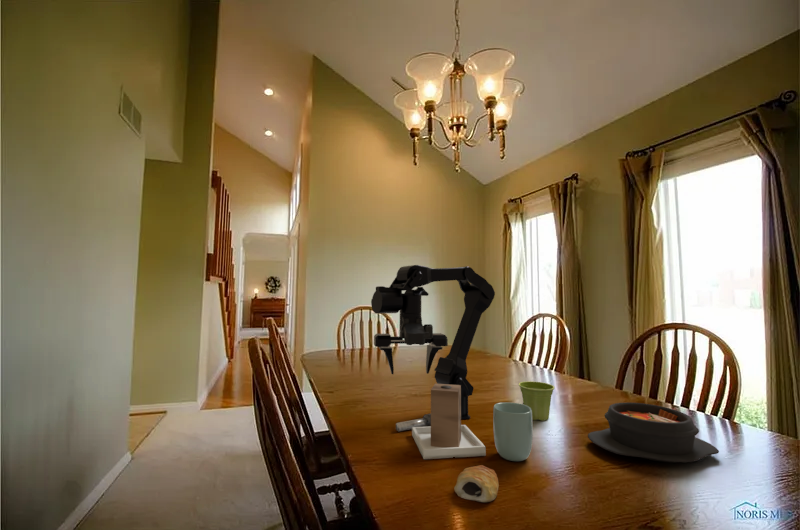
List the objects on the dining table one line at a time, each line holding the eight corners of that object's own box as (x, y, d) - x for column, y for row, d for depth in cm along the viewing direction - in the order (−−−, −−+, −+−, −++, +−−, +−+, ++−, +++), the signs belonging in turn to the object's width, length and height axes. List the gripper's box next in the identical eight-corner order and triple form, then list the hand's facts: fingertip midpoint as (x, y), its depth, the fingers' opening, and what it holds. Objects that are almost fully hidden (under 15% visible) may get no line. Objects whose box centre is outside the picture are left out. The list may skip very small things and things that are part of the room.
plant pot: (562, 419, 100) (561, 386, 101) (541, 425, 95) (540, 391, 95) (533, 410, 108) (532, 379, 108) (512, 415, 102) (511, 384, 103)
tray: (465, 432, 89) (465, 424, 90) (485, 455, 76) (485, 446, 77) (412, 435, 87) (412, 427, 88) (423, 459, 74) (423, 450, 75)
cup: (536, 467, 71) (534, 414, 72) (494, 463, 73) (494, 411, 74) (530, 451, 79) (529, 403, 80) (492, 447, 80) (492, 401, 81)
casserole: (671, 434, 89) (669, 399, 90) (748, 470, 71) (744, 425, 71) (571, 436, 88) (570, 400, 89) (622, 473, 69) (620, 427, 70)
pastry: (469, 473, 69) (469, 452, 69) (505, 482, 66) (505, 460, 66) (452, 497, 61) (452, 473, 61) (493, 509, 58) (493, 483, 58)
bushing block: (435, 436, 86) (435, 382, 87) (461, 438, 84) (460, 384, 85) (430, 446, 80) (430, 388, 81) (458, 449, 78) (458, 390, 79)
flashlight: (431, 423, 96) (430, 412, 96) (437, 425, 94) (436, 414, 94) (394, 430, 91) (394, 418, 91) (400, 433, 88) (400, 421, 89)
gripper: (377, 314, 87) (376, 381, 86) (453, 314, 90) (454, 379, 88) (374, 312, 98) (373, 372, 97) (441, 312, 101) (441, 370, 99)
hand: (410, 373), depth 95 cm, fingers open, 9 cm apart
